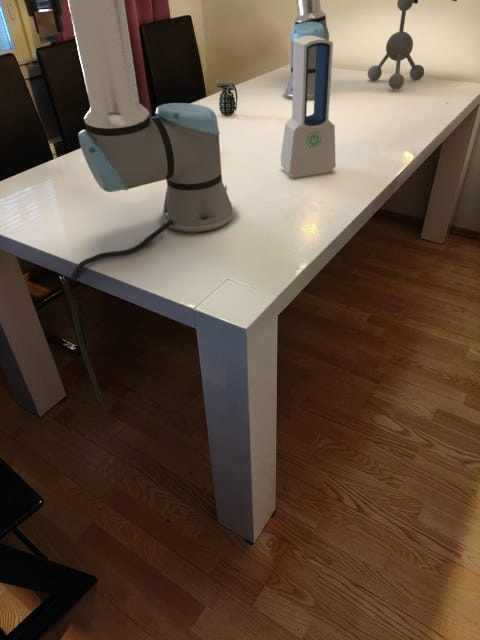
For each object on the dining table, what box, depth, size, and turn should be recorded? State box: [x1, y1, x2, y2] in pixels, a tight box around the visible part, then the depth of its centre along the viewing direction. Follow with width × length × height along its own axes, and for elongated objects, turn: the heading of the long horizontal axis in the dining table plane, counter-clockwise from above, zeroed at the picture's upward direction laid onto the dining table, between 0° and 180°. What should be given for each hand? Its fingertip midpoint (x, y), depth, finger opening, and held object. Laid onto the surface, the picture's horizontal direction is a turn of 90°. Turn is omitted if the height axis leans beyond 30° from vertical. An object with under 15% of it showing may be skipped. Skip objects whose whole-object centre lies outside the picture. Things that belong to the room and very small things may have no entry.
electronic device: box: [280, 35, 336, 179], centre depth 117 cm, size 12×8×30 cm, turn 105°
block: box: [34, 8, 61, 36], centre depth 114 cm, size 4×4×5 cm
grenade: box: [215, 82, 238, 117], centre depth 166 cm, size 7×6×10 cm
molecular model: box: [367, 0, 425, 91], centre depth 184 cm, size 24×22×30 cm
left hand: (50, 31), depth 115 cm, fingers closed on block, 4 cm apart
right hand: (434, 2), depth 170 cm, fingers open, 13 cm apart
